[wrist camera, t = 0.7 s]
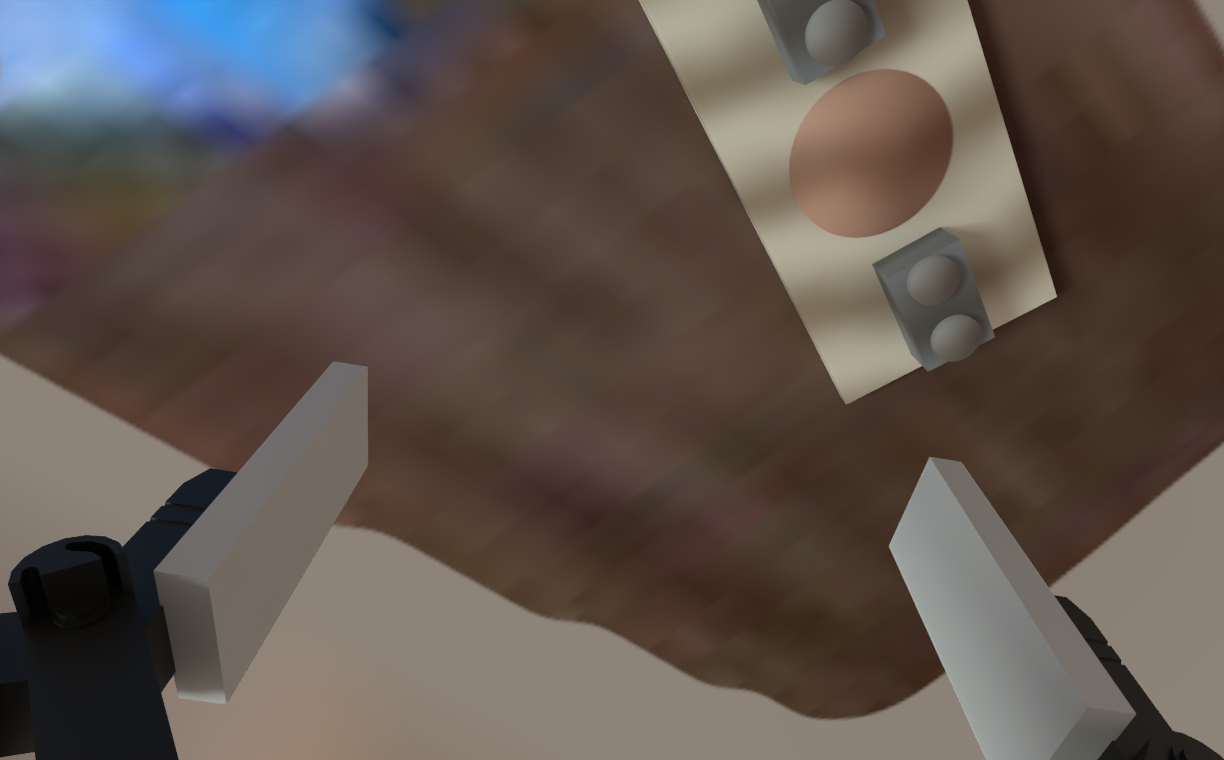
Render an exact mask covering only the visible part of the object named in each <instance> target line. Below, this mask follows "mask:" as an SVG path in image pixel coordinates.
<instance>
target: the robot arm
mask: <svg viewBox="0 0 1224 760" xmlns="http://www.w3.org/2000/svg"><path fill="white" fill-rule="evenodd" d="M367 466H368V367H365V366H359V365H353V364H347V363H340V362H334V361H333V363H332V364H331V365H330V366H329V367H328V368H327V369H326V371H325V372H324V373H323V374H322V375H321V376H320V378H319V379H318V380H317V381H316V382H315V383H314V385H313V386H312V387H311V388H310V389H309V390H308V392H307V393H306V394H305V395H304V396H303V397H302V399H301V400H300V401H299V402H298V403H297V404H296V406H295V407H294V408H293V409H292V410H291V411H290V413H289V414H288V415H287V416H286V417H285V418H284V420H283V421H282V422H281V423H280V424H279V425H278V427H277V428H276V429H275V430H274V431H273V432H272V433H271V435H270V436H269V437H268V438H267V439H266V440H265V442H264V443H263V444H262V445H261V446H260V447H259V449H258V450H257V451H256V452H255V453H254V454H253V456H252V457H251V458H250V459H249V460H248V461H247V463H246V464H245V465H244V466H243V467H242V468H241V470H240V471H239V472H238V473H237V472H231V471H224V470H217V469H211V468H210V469H208V470H206V471H205V472H203V473H201V474H199V475H197V476H196V477H194V478H192V479H190V480H188V481H187V482H185V483H183V484H182V485H181V486H180V487H179V488H178V489H177V490H176V492H175V493H174V494H173V495H172V496H171V497H170V498H169V499H168V500H167V501H166V502H165V506H161V507H160V508H159V510H157V511H156V513H155V514H154V515H153V516H152V517H151V519H150V521H149V522H146V523H145V524H144V525H143V526H142V527H141V528H140V529H139V530H138V531H137V532H136V534H135V535H134V536H133V537H132V538H131V539H130V540H129V541H128V542H127V543H126V544H125V545H124V546H123V547H122V546H121V544H120V543H119V542H117V541H115V540H112V539H110V538H107V537H105V536H90V535H84V536H78V537H71V538H65V539H62V540H59V541H57V542H53V543H51V544H48V545H45V546H42V547H41V548H39V549H38V550H36V551H34V552H33V553H31V554H29V555H28V556H26V557H24V558H23V559H22V560H21V562H20V563H19V564H18V565H17V566H16V567H15V568H14V569H13V570H12V572H11V575H10V579H9V583H8V586H9V589H10V592H11V595H12V598H13V601H14V604H15V606H16V610H17V612H11V613H1V614H0V757H5V756H12V755H18V754H24V753H31V752H35V757H36V760H178V756H177V752H176V748H175V744H174V740H173V736H172V733H171V729H170V725H169V721H168V717H167V714H166V710H165V706H164V702H163V698H162V695H161V692H162V691H163V689H164V688H165V686H166V685H167V683H168V682H169V680H170V679H171V678H172V676H173V675H174V677H175V682H176V688H177V693H178V697H179V698H184V699H191V700H198V701H205V702H213V703H220V704H227V703H228V701H229V699H230V698H231V696H232V694H233V692H234V691H235V689H236V688H237V686H238V684H239V682H240V681H241V679H242V677H243V676H244V674H245V672H246V671H247V669H248V667H249V666H250V664H251V662H252V660H253V659H254V657H255V656H256V654H257V652H258V650H259V648H260V647H261V645H262V644H263V642H264V640H265V638H266V637H267V635H268V634H269V632H270V630H271V628H272V627H273V625H274V623H275V622H276V620H277V618H278V616H279V615H280V613H281V612H282V609H283V608H284V606H285V605H286V603H287V601H288V600H289V598H290V596H291V595H292V593H293V591H294V589H295V588H296V586H297V585H298V583H299V581H300V579H301V578H302V576H303V574H304V573H305V571H306V569H307V568H308V566H309V564H310V563H311V561H312V559H313V557H314V556H315V554H316V552H317V551H318V549H319V547H320V545H321V544H322V542H323V540H324V539H325V537H326V536H327V534H328V532H329V530H330V529H331V527H332V525H333V524H334V522H335V520H336V519H337V517H338V515H339V514H340V512H341V510H342V509H343V507H344V505H345V503H346V502H347V500H348V498H349V497H350V495H351V493H352V492H353V490H354V488H355V487H356V485H357V483H358V481H359V480H360V478H361V476H362V475H363V473H364V471H365V470H366V468H367ZM889 548H890V550H891V552H892V554H893V556H894V559H895V561H896V563H897V565H898V567H899V570H900V572H901V574H902V576H903V578H904V581H905V583H906V585H907V587H908V589H909V592H910V594H911V596H912V598H913V600H914V603H915V605H916V607H917V609H918V611H919V614H920V616H921V618H922V620H923V622H924V625H925V627H926V629H927V631H928V633H929V636H930V638H931V640H932V642H933V644H934V647H935V649H936V651H937V653H938V655H939V658H940V660H941V662H942V664H943V666H944V669H945V671H946V673H947V675H948V677H949V680H950V682H951V684H952V686H953V688H954V691H955V693H956V695H957V697H958V700H959V701H960V704H961V706H962V708H963V710H964V713H965V715H966V717H967V719H968V721H969V724H970V726H971V728H972V730H973V733H974V735H975V737H976V739H977V741H978V744H979V746H980V748H981V750H982V752H983V754H984V756H985V759H986V760H1224V759H1223V758H1222V757H1221V756H1220V755H1219V754H1217V753H1216V752H1214V751H1213V750H1212V749H1210V748H1209V747H1207V746H1206V745H1204V744H1203V743H1201V742H1200V741H1198V740H1196V739H1194V738H1192V737H1189V736H1187V735H1185V734H1183V733H1179V732H1175V731H1172V729H1171V728H1170V726H1169V725H1168V724H1167V722H1166V721H1165V720H1164V718H1163V717H1162V715H1161V714H1160V713H1159V711H1158V710H1157V709H1156V708H1155V706H1154V704H1153V703H1152V702H1151V700H1150V699H1149V698H1148V696H1147V695H1146V693H1145V692H1144V691H1143V689H1142V688H1141V687H1140V685H1139V684H1138V683H1137V681H1136V680H1135V678H1134V677H1133V676H1132V674H1131V673H1130V672H1129V670H1128V669H1127V667H1126V666H1125V665H1122V664H1121V659H1120V658H1119V656H1118V655H1117V654H1116V652H1115V651H1114V650H1113V648H1112V647H1111V646H1108V645H1107V643H1108V642H1107V640H1106V639H1105V637H1104V636H1103V634H1102V633H1101V632H1100V630H1099V629H1098V628H1097V626H1096V625H1095V624H1094V622H1093V621H1092V620H1091V618H1090V617H1088V616H1087V615H1086V614H1085V613H1084V612H1083V611H1082V610H1080V609H1079V608H1078V607H1077V606H1076V605H1075V604H1074V603H1072V602H1071V601H1070V600H1069V599H1068V598H1067V597H1061V596H1055V595H1053V593H1052V592H1051V590H1050V589H1049V588H1048V586H1047V585H1046V583H1045V582H1044V580H1043V579H1042V577H1041V576H1040V575H1039V573H1038V572H1037V570H1036V569H1035V567H1034V566H1033V564H1032V563H1031V562H1030V560H1029V559H1028V557H1027V556H1026V554H1025V553H1024V552H1023V550H1022V549H1021V547H1020V546H1019V544H1018V543H1017V541H1016V540H1015V539H1014V537H1013V536H1012V534H1011V533H1010V531H1009V530H1008V528H1007V527H1006V526H1005V524H1004V523H1003V521H1002V520H1001V518H1000V517H999V516H998V514H997V513H996V511H995V510H994V508H993V507H992V505H991V504H990V503H989V501H988V500H987V498H986V497H985V495H984V494H983V493H982V491H981V490H980V488H979V487H978V485H977V484H976V482H975V481H974V480H973V478H972V477H971V475H970V474H969V472H968V471H967V469H966V468H965V467H964V465H963V464H962V462H958V461H952V460H946V459H939V458H933V457H929V460H928V462H927V464H926V466H925V468H924V470H923V473H922V475H921V477H920V479H919V481H918V484H917V486H916V488H915V490H914V492H913V494H912V497H911V499H910V501H909V503H908V505H907V508H906V510H905V512H904V514H903V516H902V518H901V521H900V523H899V525H898V527H897V529H896V532H895V534H894V536H893V538H892V540H891V542H890V545H889Z"/></svg>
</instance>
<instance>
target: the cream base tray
mask: <svg viewBox="0 0 1224 760" xmlns="http://www.w3.org/2000/svg"><path fill="white" fill-rule="evenodd" d="M639 2H640V4H641V6H642V8H643V10H644V12H645V14H646V16H647V18H648V20H649V22H650V24H651V26H652V27H653V29H654V31H655V33H656V35H657V37H658V39H659V41H660V43H661V45H662V47H663V49H664V51H665V53H666V55H667V57H668V59H669V61H670V63H671V65H672V67H673V69H674V71H675V73H676V75H677V77H678V78H679V80H680V82H681V84H682V86H683V88H684V90H685V92H686V94H687V96H688V98H689V100H690V102H691V104H692V106H693V108H694V110H695V112H696V114H697V116H698V118H699V120H700V122H701V124H702V126H703V128H704V129H705V131H706V133H707V135H708V137H709V139H710V141H711V143H712V145H713V147H714V149H715V151H716V153H717V155H718V157H719V159H720V161H721V163H722V165H723V167H724V169H725V171H726V173H727V175H728V177H729V179H730V181H731V182H732V184H733V186H734V188H735V190H736V192H737V194H738V196H739V198H740V200H741V202H742V204H743V206H744V208H745V210H746V212H747V214H748V216H749V218H750V220H751V222H752V224H753V226H754V228H755V230H756V232H757V233H758V235H759V237H760V239H761V241H762V243H763V245H764V247H765V249H766V251H767V253H768V255H769V257H770V259H771V261H772V263H773V265H774V267H775V269H776V271H777V273H778V275H779V277H780V279H781V281H782V283H783V284H784V286H785V288H786V290H787V292H788V294H789V296H790V298H791V300H792V302H793V304H794V306H795V308H796V310H797V312H798V314H799V316H800V318H801V320H802V322H803V324H804V326H805V328H806V330H807V332H808V334H809V335H810V337H811V339H812V341H813V343H814V345H815V347H816V349H817V351H818V353H819V355H820V357H821V359H822V361H823V363H824V365H825V367H826V369H827V371H828V373H829V375H830V377H831V379H832V381H833V383H834V385H835V386H836V388H837V390H838V392H839V394H840V396H841V398H842V399H843V400H844V402H845V403H846V404H848V403H850V402H852V401H854V400H856V399H858V398H860V397H862V396H864V395H866V394H868V393H870V392H872V391H874V390H876V389H878V388H880V387H882V386H884V385H886V384H888V383H890V382H891V381H893V380H895V379H897V378H899V377H901V376H903V375H905V374H907V373H909V372H911V371H913V370H915V369H917V368H919V367H921V366H923V367H924V368H925V369H926V370H927V371H930V370H932V369H934V368H936V367H938V366H940V365H942V364H944V363H946V362H948V361H959V360H962V359H964V358H966V357H968V356H969V355H971V354H972V353H973V352H974V351H975V350H976V349H977V348H978V346H979V345H981V344H983V343H985V342H987V341H989V340H991V339H993V338H995V335H994V332H993V329H995V328H997V327H999V326H1001V325H1003V324H1005V323H1007V322H1009V321H1011V320H1013V319H1015V318H1017V317H1019V316H1021V315H1022V314H1024V313H1026V312H1028V311H1030V310H1032V309H1034V308H1036V307H1038V306H1040V305H1042V304H1044V303H1046V302H1048V301H1050V300H1052V299H1054V298H1056V297H1057V295H1056V292H1055V288H1054V285H1053V282H1052V279H1051V275H1050V272H1049V269H1048V265H1047V262H1046V259H1045V255H1044V252H1043V249H1042V245H1041V242H1040V239H1039V236H1038V232H1037V229H1036V226H1035V222H1034V219H1033V216H1032V212H1031V209H1030V206H1029V203H1028V199H1027V196H1026V193H1025V189H1024V186H1023V183H1022V179H1021V176H1020V173H1019V169H1018V166H1017V163H1016V160H1015V156H1014V153H1013V150H1012V146H1011V143H1010V140H1009V136H1008V133H1007V130H1006V127H1005V123H1004V120H1003V117H1002V113H1001V110H1000V107H999V103H998V100H997V97H996V93H995V90H994V87H993V84H992V80H991V77H990V74H989V70H988V67H987V64H986V60H985V57H984V54H983V51H982V47H981V44H980V41H979V37H978V34H977V31H976V27H975V24H974V21H973V18H972V14H971V11H970V8H969V4H968V1H967V0H639Z"/></svg>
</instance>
